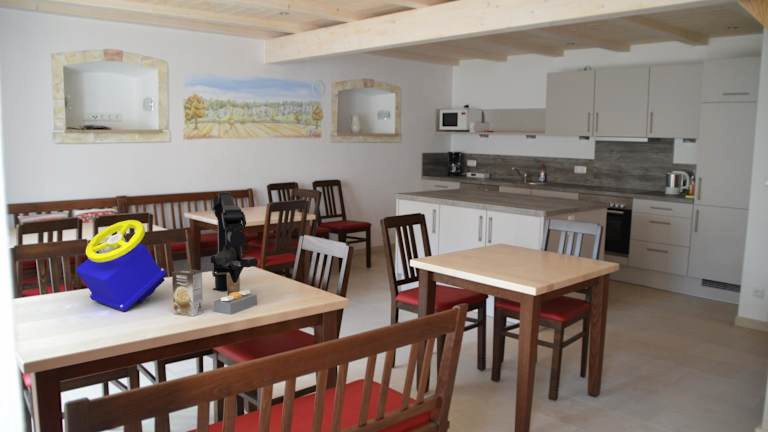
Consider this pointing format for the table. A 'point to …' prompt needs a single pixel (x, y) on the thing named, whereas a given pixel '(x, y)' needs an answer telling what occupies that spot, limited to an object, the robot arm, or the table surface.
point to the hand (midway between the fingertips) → (234, 282)
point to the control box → (120, 267)
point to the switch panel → (235, 304)
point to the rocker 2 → (244, 292)
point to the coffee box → (187, 292)
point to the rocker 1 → (227, 298)
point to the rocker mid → (235, 295)
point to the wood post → (232, 285)
